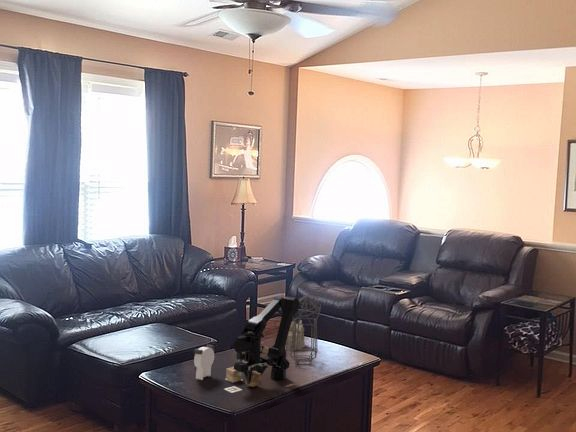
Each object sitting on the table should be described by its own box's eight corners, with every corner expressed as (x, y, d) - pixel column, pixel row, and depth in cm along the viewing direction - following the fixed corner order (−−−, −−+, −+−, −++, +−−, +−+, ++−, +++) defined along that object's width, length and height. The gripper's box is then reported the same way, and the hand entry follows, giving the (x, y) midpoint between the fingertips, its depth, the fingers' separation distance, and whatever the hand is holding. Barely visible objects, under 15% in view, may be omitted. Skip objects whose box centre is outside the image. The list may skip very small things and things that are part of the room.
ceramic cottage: (291, 339, 357) (291, 314, 355) (310, 347, 345) (311, 321, 343) (270, 345, 347) (270, 320, 345) (290, 353, 335) (290, 327, 332)
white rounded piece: (201, 373, 294) (202, 342, 293) (221, 377, 289) (222, 346, 288) (186, 380, 284) (186, 348, 283) (206, 384, 279) (207, 352, 278)
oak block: (234, 376, 288) (235, 366, 288) (241, 379, 284) (241, 369, 284) (226, 379, 285) (226, 368, 284) (232, 381, 281) (232, 371, 281)
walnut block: (253, 381, 279) (254, 370, 279) (261, 384, 275) (261, 373, 275) (245, 383, 276) (245, 372, 275) (252, 386, 272) (252, 375, 272)
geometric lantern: (319, 358, 323) (322, 293, 319) (317, 369, 307) (320, 300, 304) (289, 356, 324) (292, 291, 321) (286, 366, 308) (289, 298, 305)
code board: (238, 377, 290) (238, 375, 290) (265, 389, 275) (265, 387, 275) (206, 385, 278) (206, 383, 278) (233, 398, 263) (233, 396, 263)
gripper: (258, 340, 286) (257, 373, 288) (226, 347, 274) (225, 381, 275) (274, 346, 278) (273, 380, 279) (241, 353, 266) (241, 389, 267)
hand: (253, 382), depth 275 cm, fingers closed on walnut block, 5 cm apart
